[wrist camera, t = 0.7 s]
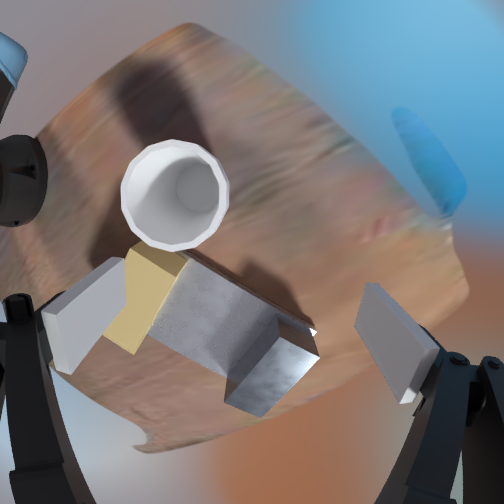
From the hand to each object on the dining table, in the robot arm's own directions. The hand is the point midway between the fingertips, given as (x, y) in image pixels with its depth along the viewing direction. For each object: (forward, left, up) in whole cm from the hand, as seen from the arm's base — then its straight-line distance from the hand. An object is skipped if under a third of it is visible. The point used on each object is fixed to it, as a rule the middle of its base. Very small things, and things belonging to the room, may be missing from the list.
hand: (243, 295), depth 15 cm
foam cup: (-8, 0, -23) cm, 24 cm away
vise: (+3, -15, -22) cm, 27 cm away
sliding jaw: (-7, -15, -21) cm, 27 cm away
